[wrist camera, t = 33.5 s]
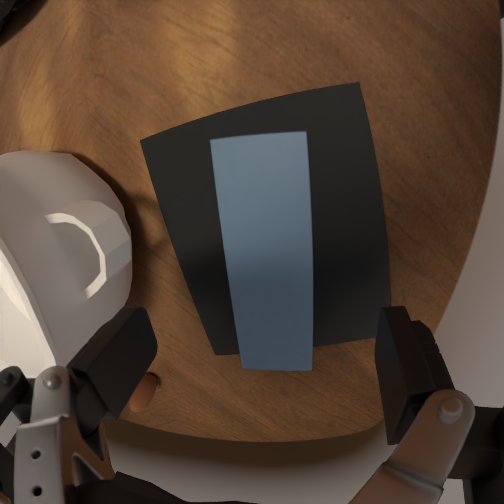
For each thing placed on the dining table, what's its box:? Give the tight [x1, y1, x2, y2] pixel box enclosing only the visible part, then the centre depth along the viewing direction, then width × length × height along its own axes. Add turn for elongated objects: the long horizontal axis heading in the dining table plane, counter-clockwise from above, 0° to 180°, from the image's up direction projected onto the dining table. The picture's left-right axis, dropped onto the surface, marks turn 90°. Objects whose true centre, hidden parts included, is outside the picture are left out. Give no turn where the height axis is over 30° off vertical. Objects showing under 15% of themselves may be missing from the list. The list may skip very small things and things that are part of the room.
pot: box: [0, 150, 132, 378], centre depth 18 cm, size 22×17×12 cm
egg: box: [129, 375, 157, 412], centre depth 26 cm, size 2×2×5 cm
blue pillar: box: [210, 131, 313, 371], centre depth 18 cm, size 4×4×14 cm
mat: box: [140, 82, 391, 355], centre depth 20 cm, size 14×18×1 cm
